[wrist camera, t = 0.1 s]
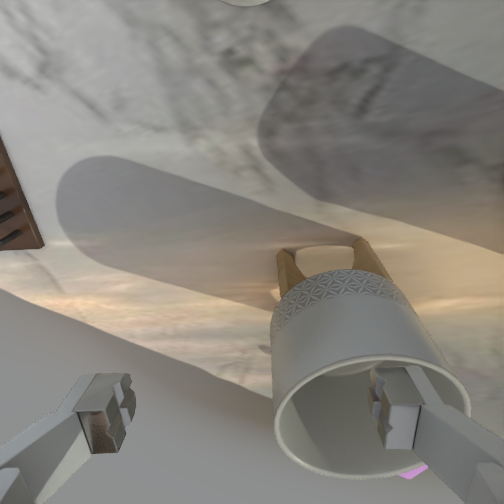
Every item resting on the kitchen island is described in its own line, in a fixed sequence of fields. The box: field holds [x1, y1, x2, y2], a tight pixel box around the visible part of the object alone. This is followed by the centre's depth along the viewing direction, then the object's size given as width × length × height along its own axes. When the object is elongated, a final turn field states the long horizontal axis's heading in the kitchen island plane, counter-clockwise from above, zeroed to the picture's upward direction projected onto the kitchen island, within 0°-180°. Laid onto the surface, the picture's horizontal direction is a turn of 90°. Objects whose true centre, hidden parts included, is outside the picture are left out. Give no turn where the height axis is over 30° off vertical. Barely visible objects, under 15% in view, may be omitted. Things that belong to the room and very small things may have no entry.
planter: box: [270, 237, 471, 479], centre depth 44 cm, size 19×19×26 cm
